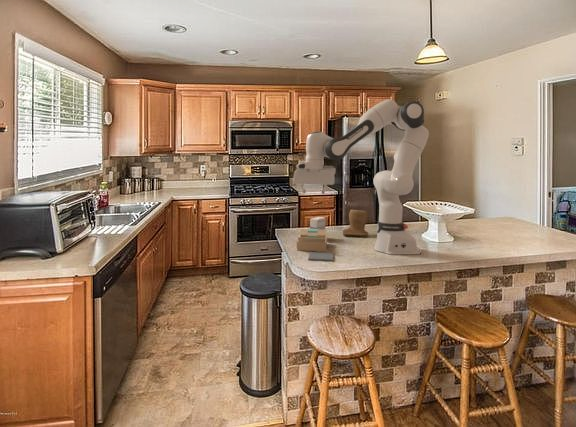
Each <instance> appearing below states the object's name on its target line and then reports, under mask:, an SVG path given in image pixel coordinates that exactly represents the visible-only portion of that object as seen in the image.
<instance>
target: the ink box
mask: <svg viewBox="0 0 576 427" xmlns="http://www.w3.org/2000/svg"><path fill="white" fill-rule="evenodd" d="M326 219H327V218H326V217H322V216H317V217H311V218H310V220H309V221H310V222H309V223H310V226H309V228H313V229H318V230H326V225H327V224H326V223H327V222H326V221H327V220H326Z"/></svg>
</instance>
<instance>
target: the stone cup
mask: <svg viewBox="0 0 576 427" xmlns="http://www.w3.org/2000/svg"><path fill="white" fill-rule="evenodd" d="M348 221H349V228H347V229H345V228H344V229H342V236H350V237H359V236H360V237H362V236H369V232H368V231H366V230H365V226H366V224H367V221H368V212H367V211H366V210H358V209H350V211H349V214H348Z"/></svg>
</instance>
